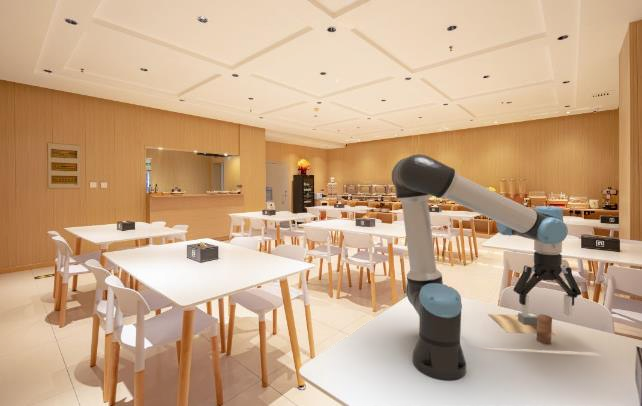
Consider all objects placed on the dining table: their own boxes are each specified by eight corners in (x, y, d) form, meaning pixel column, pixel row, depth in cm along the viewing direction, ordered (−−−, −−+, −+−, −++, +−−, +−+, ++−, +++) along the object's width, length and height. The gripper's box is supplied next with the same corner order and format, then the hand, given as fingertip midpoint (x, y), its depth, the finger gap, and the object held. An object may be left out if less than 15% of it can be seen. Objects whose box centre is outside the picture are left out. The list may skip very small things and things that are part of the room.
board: (506, 335, 111) (506, 332, 111) (487, 316, 127) (487, 313, 127) (559, 338, 109) (559, 334, 109) (532, 318, 125) (533, 315, 125)
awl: (540, 348, 102) (542, 319, 102) (533, 342, 106) (534, 314, 106) (553, 348, 102) (555, 319, 101) (546, 342, 106) (547, 314, 105)
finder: (523, 324, 117) (524, 316, 117) (517, 320, 121) (518, 312, 121) (540, 325, 116) (540, 317, 116) (533, 320, 120) (534, 313, 120)
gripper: (514, 254, 100) (513, 317, 101) (596, 255, 97) (594, 320, 98) (503, 249, 107) (501, 308, 108) (579, 250, 105) (577, 310, 106)
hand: (546, 314), depth 103 cm, fingers open, 13 cm apart
